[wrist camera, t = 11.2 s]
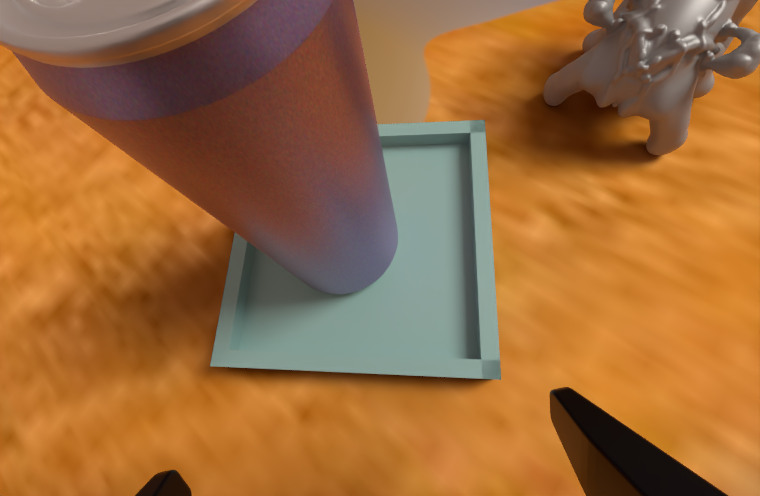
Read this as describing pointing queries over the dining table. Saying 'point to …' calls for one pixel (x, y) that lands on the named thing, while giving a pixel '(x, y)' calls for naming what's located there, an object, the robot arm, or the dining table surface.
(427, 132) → the tray
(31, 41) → the beverage can
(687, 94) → the gray elephant figurine
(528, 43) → the dining table surface
